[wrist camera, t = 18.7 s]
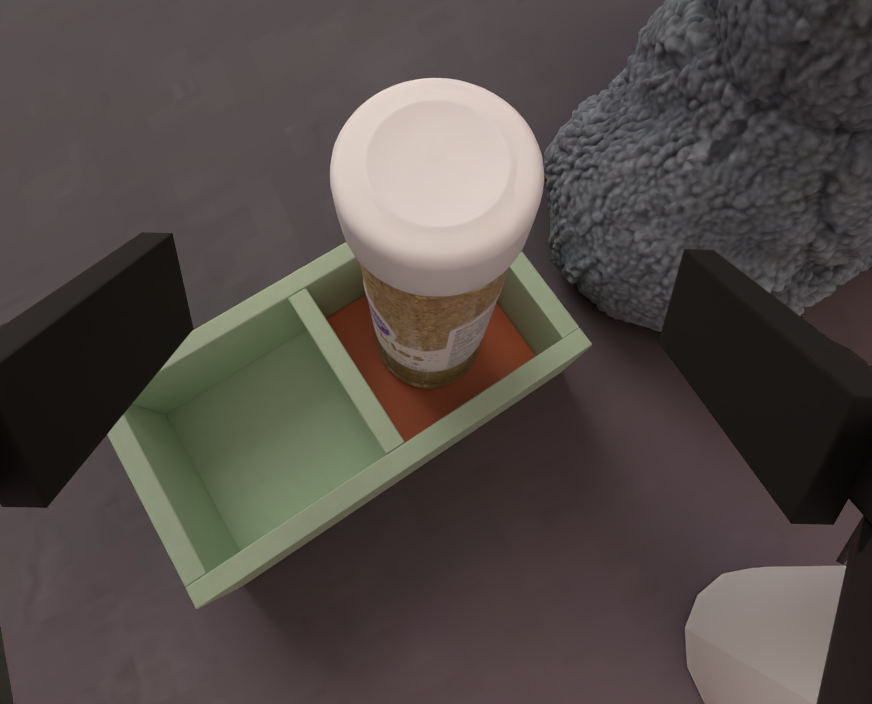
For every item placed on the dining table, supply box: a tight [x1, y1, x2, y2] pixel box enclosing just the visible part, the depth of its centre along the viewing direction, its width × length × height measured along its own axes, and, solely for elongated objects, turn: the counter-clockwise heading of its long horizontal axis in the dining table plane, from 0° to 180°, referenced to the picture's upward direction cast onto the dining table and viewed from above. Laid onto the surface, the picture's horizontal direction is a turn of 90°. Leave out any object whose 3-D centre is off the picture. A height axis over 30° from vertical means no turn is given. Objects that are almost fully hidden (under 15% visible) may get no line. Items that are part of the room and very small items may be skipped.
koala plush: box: [543, 0, 872, 332], centre depth 18 cm, size 17×18×20 cm
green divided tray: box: [107, 242, 592, 609], centre depth 22 cm, size 9×16×5 cm, turn 123°
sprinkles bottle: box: [330, 78, 544, 389], centre depth 18 cm, size 5×5×14 cm
